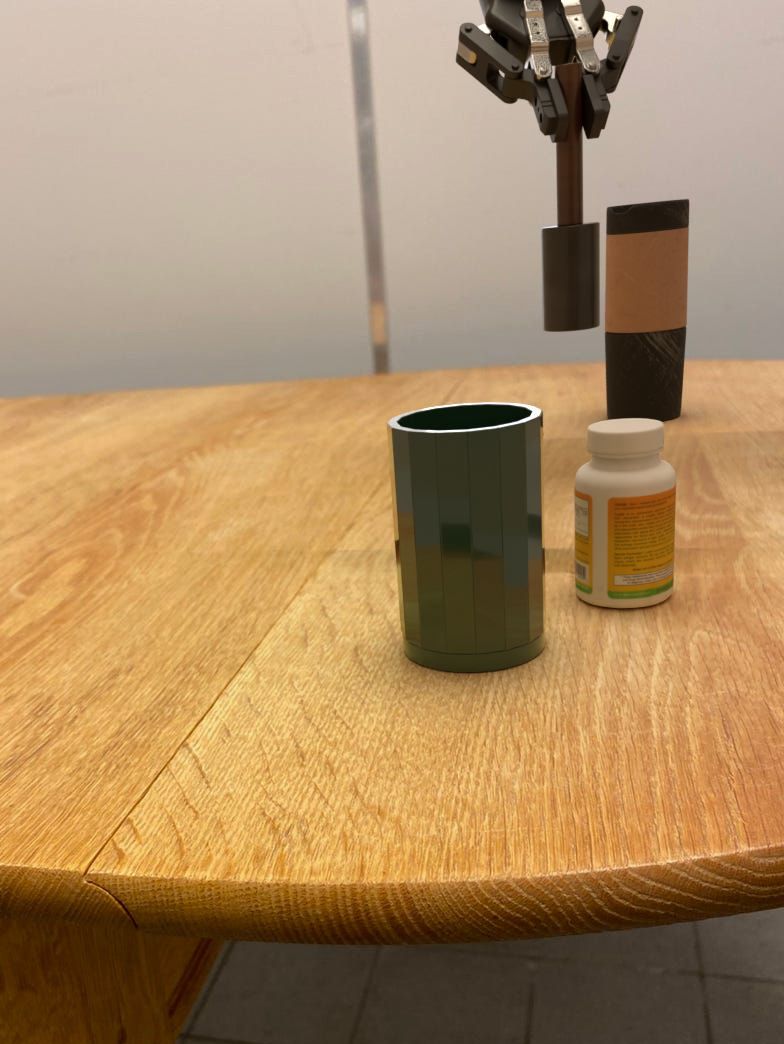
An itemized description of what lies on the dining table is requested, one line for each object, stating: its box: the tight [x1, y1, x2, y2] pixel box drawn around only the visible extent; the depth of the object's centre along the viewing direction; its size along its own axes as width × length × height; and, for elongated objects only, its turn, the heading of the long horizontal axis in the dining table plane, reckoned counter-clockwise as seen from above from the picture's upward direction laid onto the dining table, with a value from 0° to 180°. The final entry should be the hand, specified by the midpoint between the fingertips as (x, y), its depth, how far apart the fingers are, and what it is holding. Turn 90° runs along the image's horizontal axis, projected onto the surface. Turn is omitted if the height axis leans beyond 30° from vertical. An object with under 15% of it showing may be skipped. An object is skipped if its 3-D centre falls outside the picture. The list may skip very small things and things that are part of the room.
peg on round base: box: [540, 63, 601, 333], centre depth 74 cm, size 4×4×17 cm
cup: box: [386, 401, 547, 673], centre depth 54 cm, size 7×7×12 cm
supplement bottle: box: [573, 418, 677, 609], centre depth 59 cm, size 5×5×10 cm
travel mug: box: [604, 198, 690, 422], centre depth 104 cm, size 8×8×20 cm
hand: (579, 129), depth 70 cm, fingers closed on peg on round base, 2 cm apart
